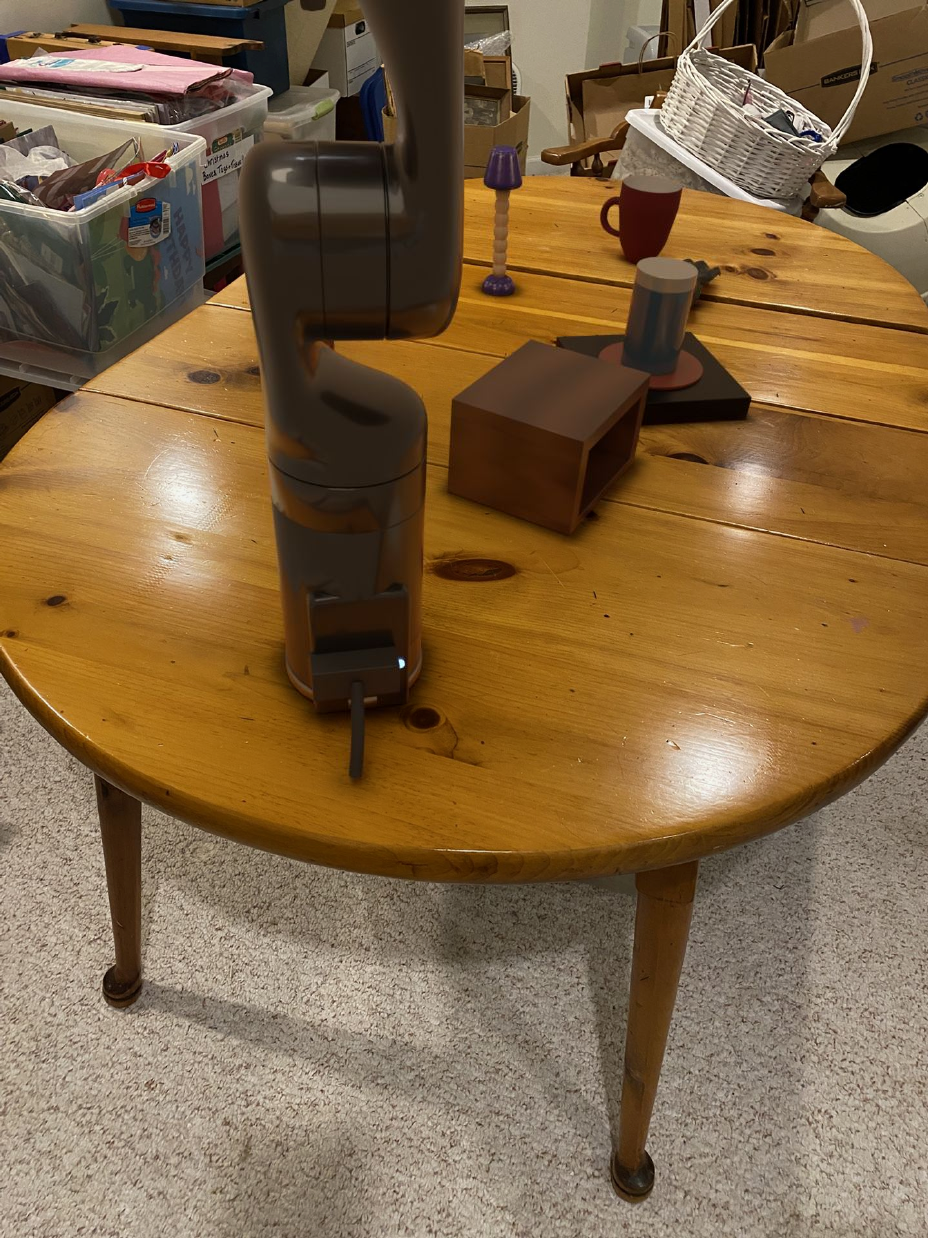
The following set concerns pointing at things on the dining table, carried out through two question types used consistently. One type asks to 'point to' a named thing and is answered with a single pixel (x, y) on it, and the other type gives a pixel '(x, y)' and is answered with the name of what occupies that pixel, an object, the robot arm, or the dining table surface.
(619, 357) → the hot plate
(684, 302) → the jar
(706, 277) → the statue
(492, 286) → the toy lamp
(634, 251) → the mug
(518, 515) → the shelf
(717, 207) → the dining table surface
